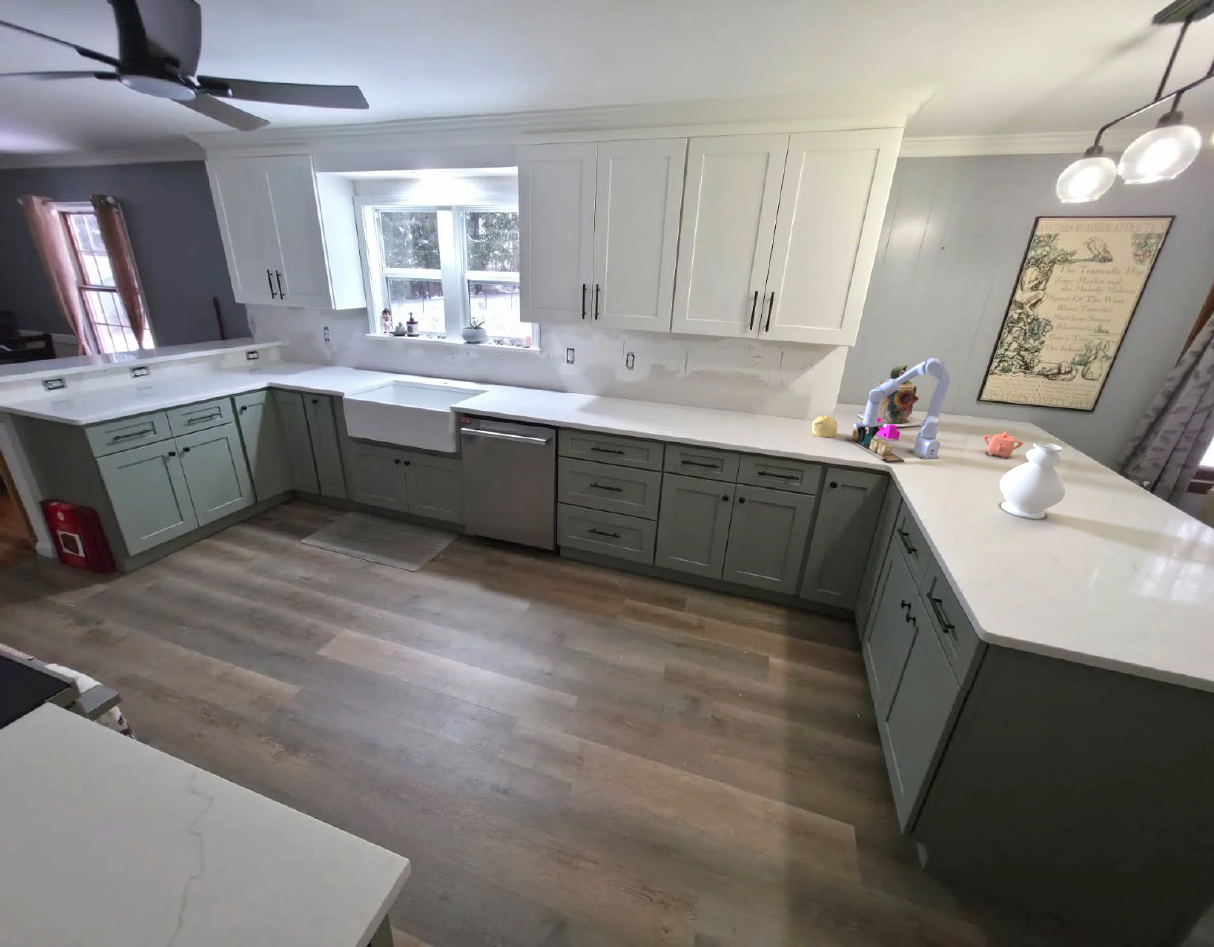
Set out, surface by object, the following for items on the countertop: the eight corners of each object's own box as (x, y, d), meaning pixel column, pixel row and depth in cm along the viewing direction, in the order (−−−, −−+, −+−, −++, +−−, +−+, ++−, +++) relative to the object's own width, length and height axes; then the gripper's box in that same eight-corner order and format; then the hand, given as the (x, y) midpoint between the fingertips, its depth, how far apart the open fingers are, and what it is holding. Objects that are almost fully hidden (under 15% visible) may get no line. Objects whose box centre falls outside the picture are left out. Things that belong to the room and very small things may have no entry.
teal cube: (870, 444, 239) (873, 435, 238) (863, 444, 239) (865, 435, 237) (865, 441, 243) (867, 432, 241) (858, 441, 242) (860, 433, 241)
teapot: (1022, 460, 225) (1030, 439, 221) (996, 460, 225) (1003, 439, 221) (999, 449, 238) (1006, 429, 234) (974, 449, 238) (981, 429, 234)
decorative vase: (1044, 527, 168) (1073, 459, 158) (984, 507, 181) (1007, 443, 171) (1061, 513, 177) (1089, 448, 167) (1002, 495, 191) (1025, 434, 181)
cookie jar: (855, 416, 285) (867, 360, 273) (889, 413, 292) (902, 358, 279) (889, 429, 264) (904, 369, 251) (925, 426, 271) (941, 367, 258)
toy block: (898, 440, 249) (901, 425, 246) (886, 440, 248) (890, 426, 245) (879, 430, 262) (883, 417, 259) (868, 430, 262) (871, 417, 259)
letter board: (903, 461, 222) (907, 450, 219) (887, 462, 220) (890, 451, 218) (860, 438, 250) (863, 428, 247) (846, 439, 248) (848, 429, 246)
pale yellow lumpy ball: (812, 431, 260) (816, 411, 256) (836, 435, 255) (841, 414, 250) (808, 437, 251) (812, 416, 247) (833, 441, 246) (837, 420, 241)
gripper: (879, 411, 240) (873, 438, 245) (852, 412, 238) (846, 439, 243) (889, 415, 233) (882, 442, 239) (861, 416, 231) (855, 444, 237)
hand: (865, 441), depth 241 cm, fingers closed on teal cube, 4 cm apart
